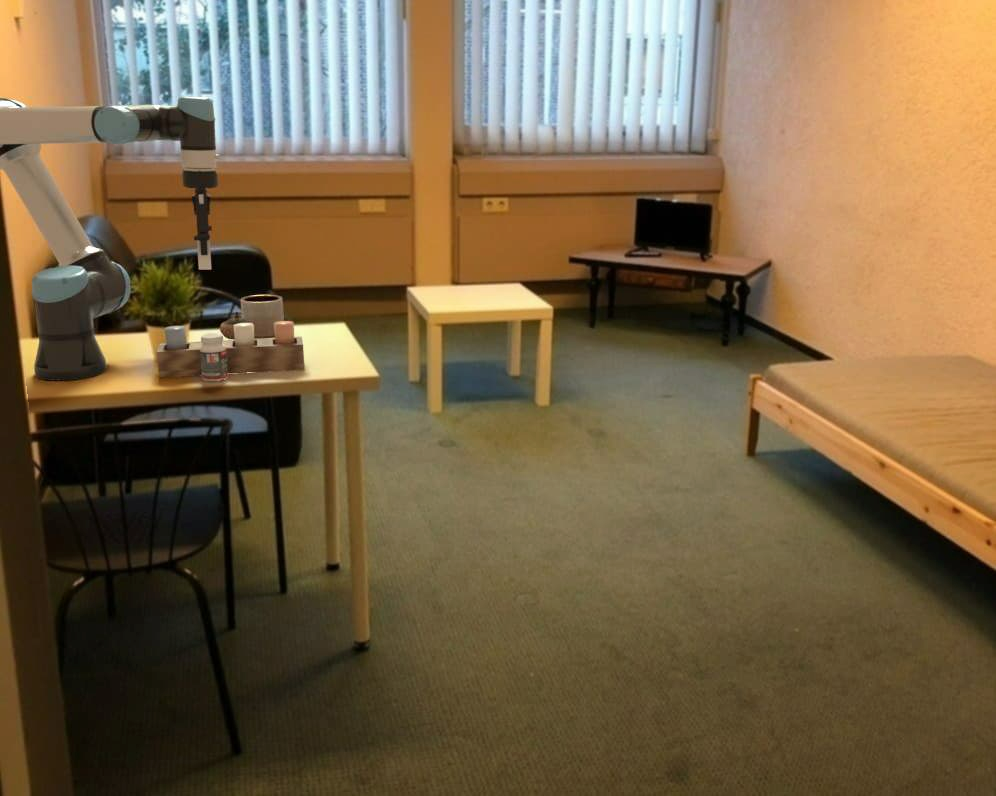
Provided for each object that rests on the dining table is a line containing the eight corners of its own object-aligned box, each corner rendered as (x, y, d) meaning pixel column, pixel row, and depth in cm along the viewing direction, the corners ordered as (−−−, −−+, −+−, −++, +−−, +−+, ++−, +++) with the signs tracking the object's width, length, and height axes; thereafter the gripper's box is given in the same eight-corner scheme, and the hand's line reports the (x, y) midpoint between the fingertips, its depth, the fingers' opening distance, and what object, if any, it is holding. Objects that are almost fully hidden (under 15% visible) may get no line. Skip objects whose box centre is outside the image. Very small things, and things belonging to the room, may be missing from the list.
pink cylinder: (275, 349, 231) (274, 325, 230) (275, 344, 235) (273, 321, 234) (295, 348, 232) (293, 324, 230) (294, 343, 236) (293, 320, 235)
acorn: (215, 351, 249) (212, 311, 246) (244, 345, 255) (241, 306, 252) (234, 357, 243) (230, 316, 241) (263, 350, 249) (260, 311, 246)
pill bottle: (228, 381, 223) (225, 337, 220) (202, 383, 221) (198, 339, 218) (228, 374, 228) (224, 331, 225) (201, 376, 227) (198, 333, 224)
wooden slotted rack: (159, 377, 225) (156, 351, 224) (162, 368, 233) (159, 343, 231) (304, 369, 232) (303, 344, 230) (303, 361, 240) (301, 336, 238)
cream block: (235, 351, 229) (233, 327, 228) (235, 346, 233) (233, 323, 232) (255, 350, 230) (253, 326, 229) (255, 345, 234) (253, 322, 233)
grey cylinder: (166, 354, 226) (163, 330, 224) (167, 350, 230) (165, 326, 229) (186, 353, 227) (184, 329, 225) (187, 349, 231) (185, 325, 229)
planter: (250, 328, 273) (248, 294, 270) (290, 329, 272) (287, 294, 269) (236, 338, 262) (234, 301, 260) (277, 339, 261) (275, 302, 259)
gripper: (218, 174, 214) (223, 273, 220) (216, 165, 237) (220, 255, 243) (181, 174, 212) (187, 274, 218) (182, 164, 235) (188, 255, 241)
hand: (204, 264), depth 231 cm, fingers open, 13 cm apart
